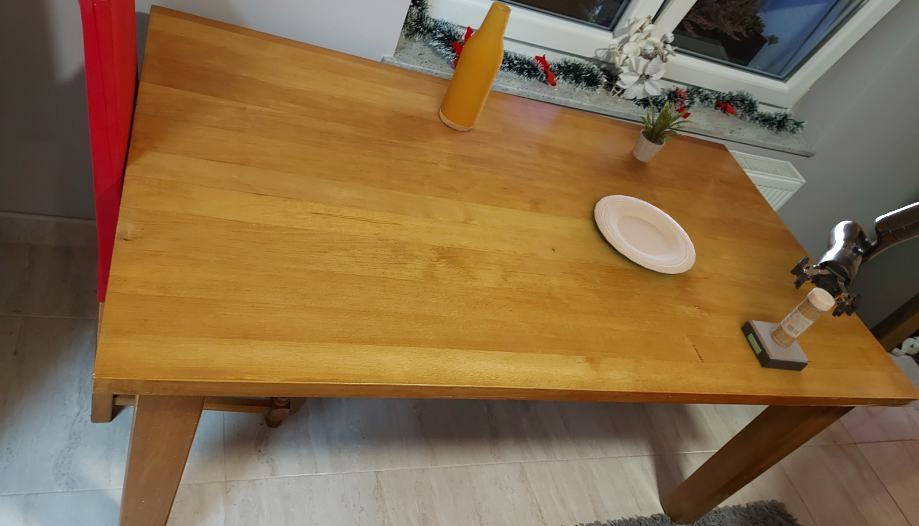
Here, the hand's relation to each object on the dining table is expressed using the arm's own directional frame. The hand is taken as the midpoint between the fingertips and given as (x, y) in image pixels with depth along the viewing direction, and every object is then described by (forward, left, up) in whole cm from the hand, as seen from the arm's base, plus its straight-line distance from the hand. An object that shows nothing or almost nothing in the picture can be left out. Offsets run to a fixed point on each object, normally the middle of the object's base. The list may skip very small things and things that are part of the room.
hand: (817, 299), depth 136 cm
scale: (+5, +4, -12) cm, 14 cm away
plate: (+25, -25, -12) cm, 37 cm away
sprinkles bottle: (+5, +4, -9) cm, 11 cm away
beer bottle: (+64, -57, -12) cm, 87 cm away
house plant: (+11, -58, -12) cm, 60 cm away
